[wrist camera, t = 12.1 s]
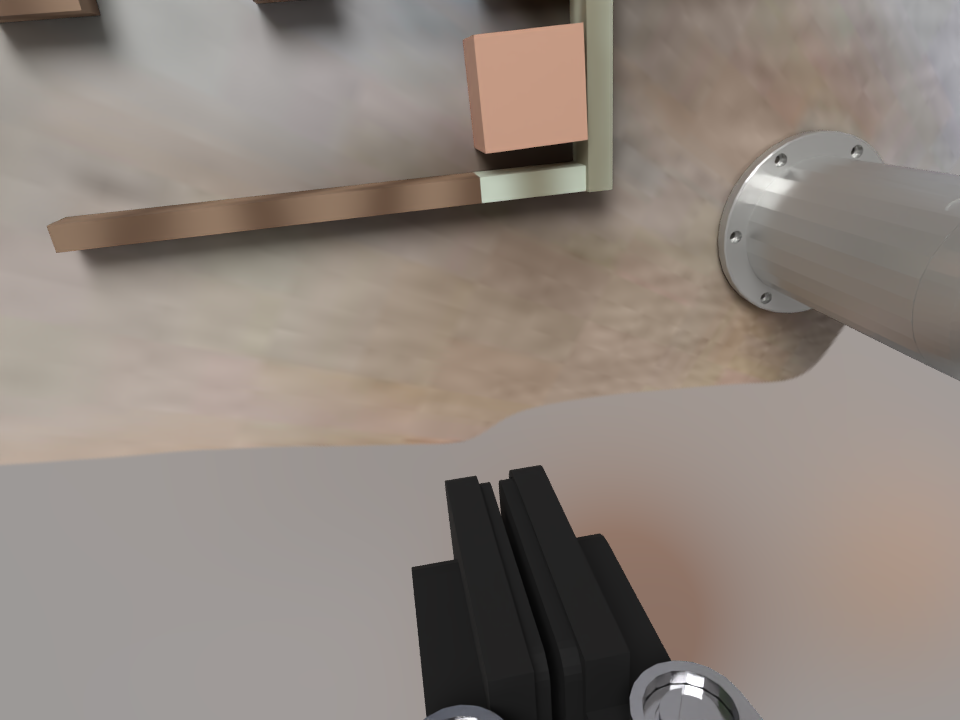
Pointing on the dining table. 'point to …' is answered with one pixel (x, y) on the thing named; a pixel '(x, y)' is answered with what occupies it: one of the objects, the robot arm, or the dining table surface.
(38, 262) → the dining table surface
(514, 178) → the trap lane
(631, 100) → the dining table surface
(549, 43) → the block
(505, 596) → the robot arm
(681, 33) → the dining table surface
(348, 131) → the dining table surface
